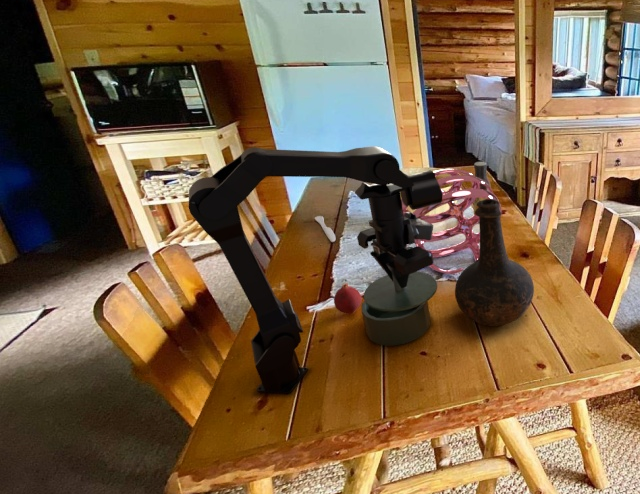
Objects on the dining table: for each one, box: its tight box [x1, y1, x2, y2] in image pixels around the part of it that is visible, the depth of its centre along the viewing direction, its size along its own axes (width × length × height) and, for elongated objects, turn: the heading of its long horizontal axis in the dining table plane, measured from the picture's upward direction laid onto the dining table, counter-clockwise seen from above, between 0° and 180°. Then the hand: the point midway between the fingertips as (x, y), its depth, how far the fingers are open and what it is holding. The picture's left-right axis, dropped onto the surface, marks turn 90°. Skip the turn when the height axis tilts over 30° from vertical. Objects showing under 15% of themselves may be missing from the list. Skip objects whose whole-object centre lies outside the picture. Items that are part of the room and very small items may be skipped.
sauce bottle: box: [472, 161, 492, 216], centre depth 147 cm, size 7×6×20 cm
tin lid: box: [363, 271, 438, 312], centre depth 90 cm, size 15×15×5 cm
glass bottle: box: [454, 199, 535, 327], centre depth 96 cm, size 18×18×28 cm
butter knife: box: [313, 215, 337, 243], centre depth 144 cm, size 1×24×3 cm
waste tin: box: [361, 300, 431, 347], centre depth 97 cm, size 14×14×6 cm
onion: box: [333, 282, 363, 315], centre depth 101 cm, size 6×6×8 cm
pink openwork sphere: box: [401, 168, 503, 275], centre depth 118 cm, size 28×28×27 cm
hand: (400, 284), depth 90 cm, fingers closed on tin lid, 2 cm apart
